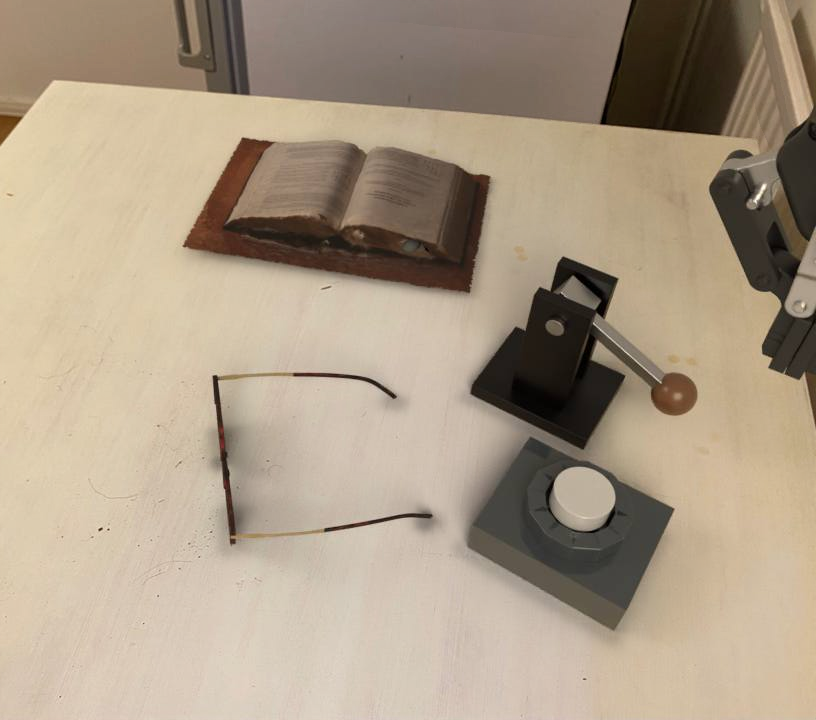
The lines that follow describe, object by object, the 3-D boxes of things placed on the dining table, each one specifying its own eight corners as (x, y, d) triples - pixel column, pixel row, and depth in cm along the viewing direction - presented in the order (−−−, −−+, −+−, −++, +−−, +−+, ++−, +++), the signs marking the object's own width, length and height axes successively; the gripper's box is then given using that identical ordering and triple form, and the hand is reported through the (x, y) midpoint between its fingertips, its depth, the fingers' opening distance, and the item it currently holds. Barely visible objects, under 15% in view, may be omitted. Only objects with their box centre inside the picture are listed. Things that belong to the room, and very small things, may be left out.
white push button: (618, 498, 55) (625, 484, 54) (595, 542, 53) (601, 528, 52) (563, 470, 57) (568, 456, 55) (538, 512, 54) (543, 498, 53)
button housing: (661, 531, 59) (683, 494, 55) (614, 631, 54) (634, 598, 50) (522, 460, 63) (534, 421, 59) (467, 547, 58) (475, 510, 54)
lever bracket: (622, 385, 68) (663, 281, 59) (583, 450, 63) (622, 348, 54) (513, 336, 71) (537, 231, 63) (470, 394, 67) (489, 291, 58)
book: (470, 301, 75) (477, 262, 71) (181, 253, 78) (175, 214, 75) (489, 184, 88) (496, 147, 85) (242, 148, 92) (240, 111, 89)
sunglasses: (214, 410, 66) (211, 370, 62) (390, 393, 69) (398, 353, 65) (232, 570, 57) (230, 534, 53) (435, 543, 59) (447, 506, 56)
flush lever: (682, 402, 62) (713, 386, 59) (667, 430, 60) (699, 415, 57) (553, 289, 62) (579, 268, 59) (535, 314, 60) (560, 293, 58)
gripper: (751, 7, 27) (627, 356, 40) (1256, 124, 22) (925, 482, 35) (809, -69, 31) (679, 270, 44) (1247, 14, 26) (954, 371, 39)
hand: (788, 363), depth 39 cm, fingers closed
